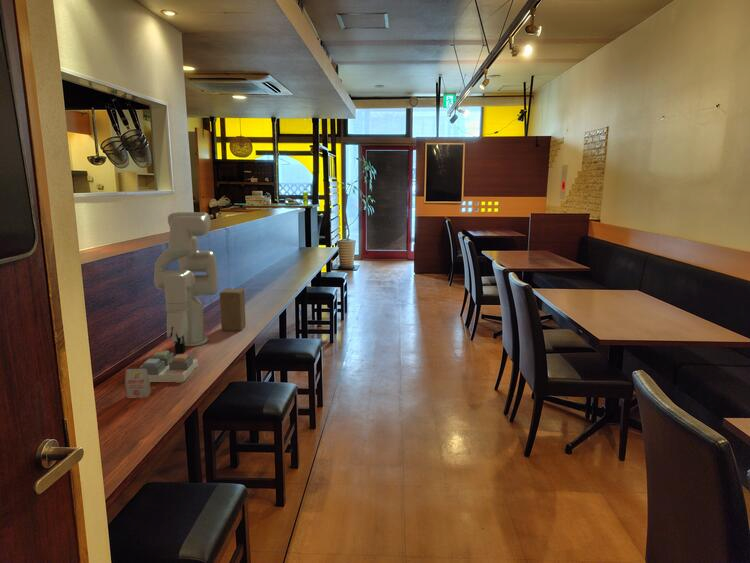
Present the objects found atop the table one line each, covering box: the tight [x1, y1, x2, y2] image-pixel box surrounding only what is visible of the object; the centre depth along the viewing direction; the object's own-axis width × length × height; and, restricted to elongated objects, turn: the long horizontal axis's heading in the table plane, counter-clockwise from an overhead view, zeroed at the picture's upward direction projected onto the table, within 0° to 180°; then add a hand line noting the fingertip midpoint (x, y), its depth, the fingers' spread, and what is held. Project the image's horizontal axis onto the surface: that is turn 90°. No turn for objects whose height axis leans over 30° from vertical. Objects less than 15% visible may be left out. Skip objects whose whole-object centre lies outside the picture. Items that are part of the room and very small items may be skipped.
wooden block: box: [219, 288, 247, 332], centre depth 242 cm, size 10×10×20 cm
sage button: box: [153, 350, 170, 358], centre depth 187 cm, size 4×4×2 cm
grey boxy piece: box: [124, 368, 152, 398], centre depth 164 cm, size 4×7×10 cm, turn 96°
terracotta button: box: [173, 354, 189, 362], centre depth 183 cm, size 4×4×2 cm
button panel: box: [138, 352, 199, 382], centre depth 183 cm, size 16×16×6 cm
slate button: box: [143, 358, 160, 366], centre depth 178 cm, size 4×4×2 cm
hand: (180, 353), depth 182 cm, fingers closed
